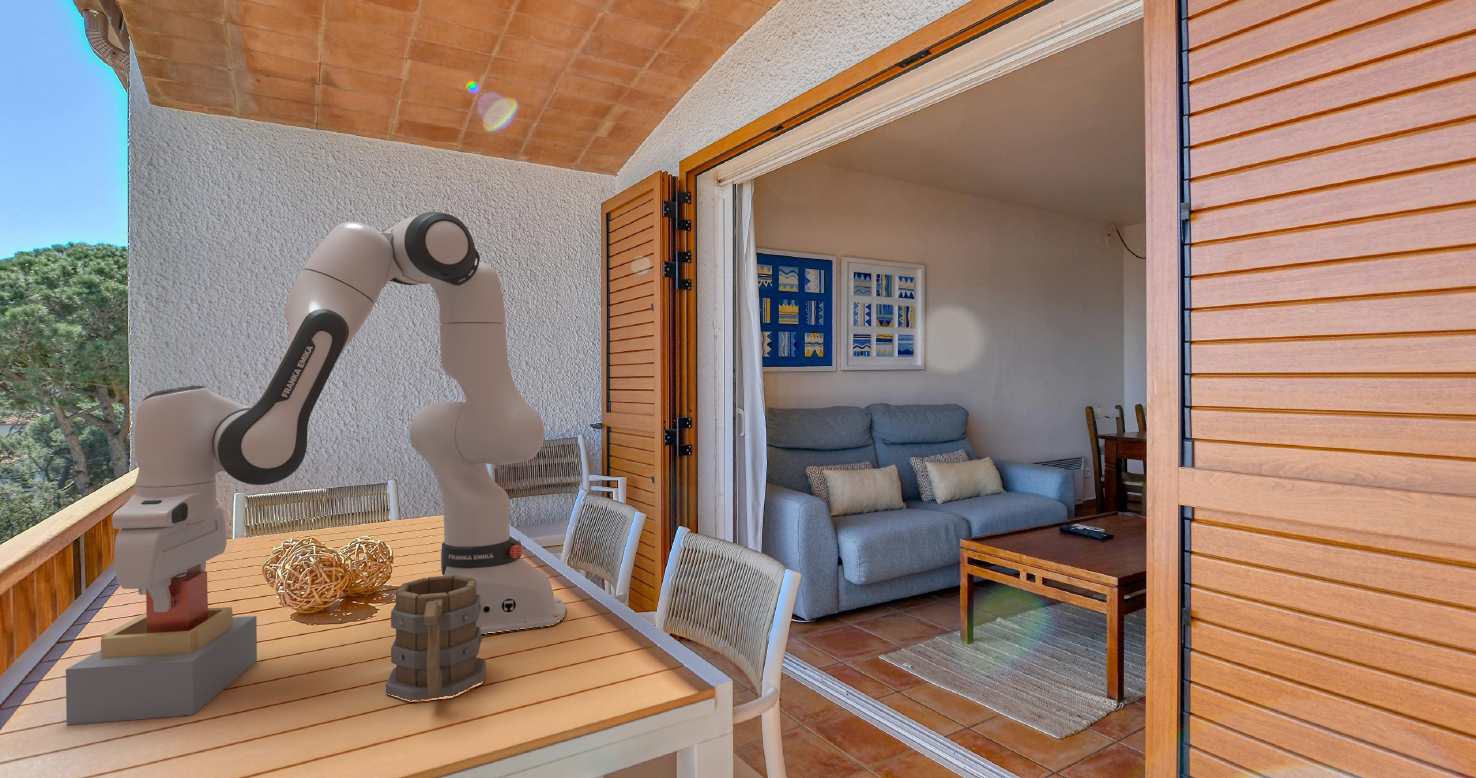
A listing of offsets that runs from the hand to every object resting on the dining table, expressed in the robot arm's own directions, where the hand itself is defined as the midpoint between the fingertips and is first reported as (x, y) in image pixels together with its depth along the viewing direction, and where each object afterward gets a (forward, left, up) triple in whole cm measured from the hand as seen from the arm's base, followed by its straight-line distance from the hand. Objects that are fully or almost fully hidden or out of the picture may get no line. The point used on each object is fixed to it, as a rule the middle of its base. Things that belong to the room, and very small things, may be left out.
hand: (178, 602), depth 101 cm
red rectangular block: (0, 0, -4) cm, 4 cm away
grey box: (+1, 0, -12) cm, 12 cm away
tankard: (-35, +8, -12) cm, 38 cm away
